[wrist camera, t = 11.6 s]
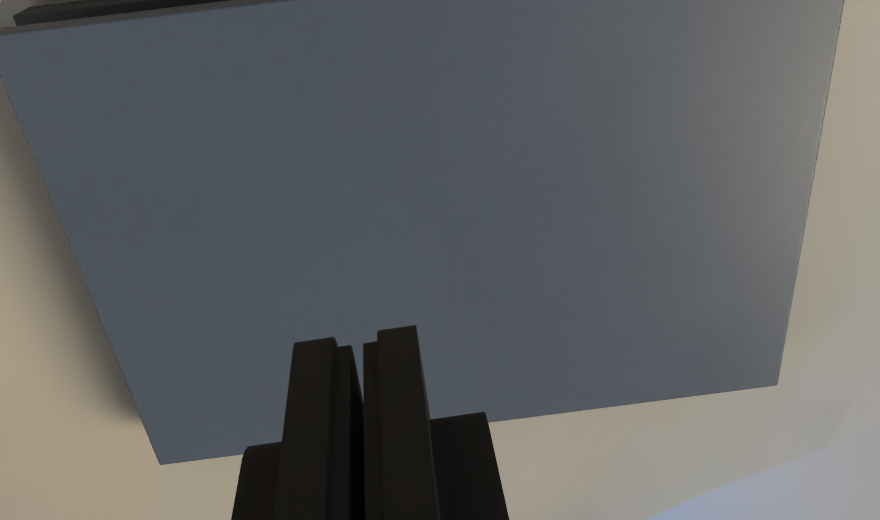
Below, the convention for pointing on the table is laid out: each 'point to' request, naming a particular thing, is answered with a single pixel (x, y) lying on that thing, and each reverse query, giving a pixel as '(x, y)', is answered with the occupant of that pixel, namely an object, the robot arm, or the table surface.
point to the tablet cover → (430, 195)
